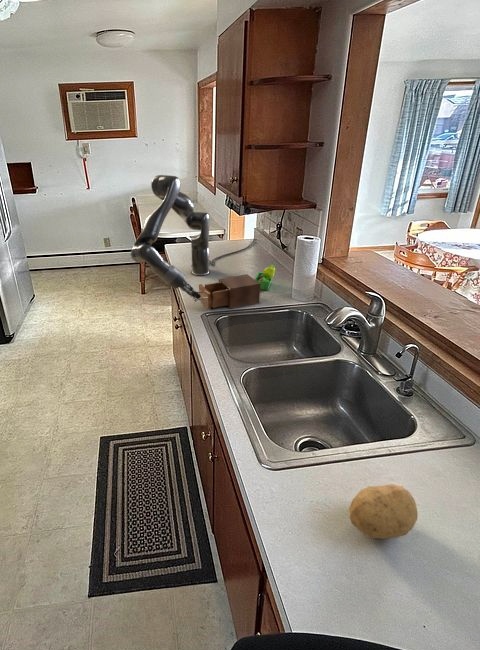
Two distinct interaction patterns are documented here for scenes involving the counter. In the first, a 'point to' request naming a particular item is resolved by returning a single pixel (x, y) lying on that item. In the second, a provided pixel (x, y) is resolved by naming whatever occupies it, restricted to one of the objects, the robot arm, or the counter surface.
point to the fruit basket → (265, 277)
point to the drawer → (213, 295)
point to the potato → (383, 511)
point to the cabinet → (242, 290)
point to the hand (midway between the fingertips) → (199, 297)
